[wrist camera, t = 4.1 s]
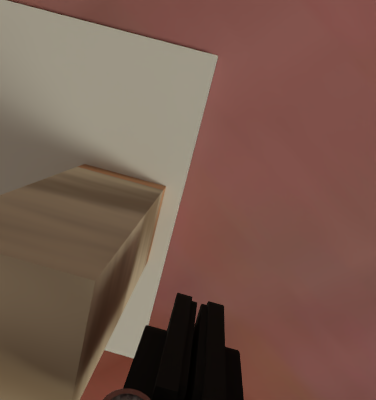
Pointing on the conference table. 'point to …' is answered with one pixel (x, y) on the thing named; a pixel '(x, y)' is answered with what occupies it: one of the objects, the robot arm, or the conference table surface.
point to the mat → (100, 119)
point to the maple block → (68, 275)
